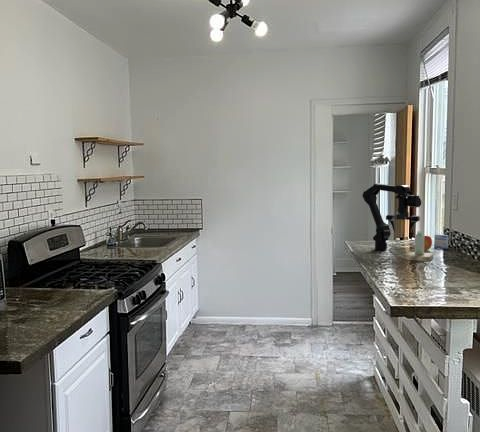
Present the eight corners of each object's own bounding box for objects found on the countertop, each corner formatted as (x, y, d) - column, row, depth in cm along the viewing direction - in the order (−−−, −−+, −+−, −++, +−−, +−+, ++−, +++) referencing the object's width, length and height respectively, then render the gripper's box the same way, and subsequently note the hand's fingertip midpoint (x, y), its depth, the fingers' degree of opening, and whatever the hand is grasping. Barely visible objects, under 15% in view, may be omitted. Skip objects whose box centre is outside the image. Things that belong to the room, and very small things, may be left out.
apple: (434, 252, 290) (434, 236, 289) (418, 252, 290) (419, 236, 289) (428, 249, 299) (428, 233, 298) (413, 249, 300) (413, 233, 299)
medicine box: (433, 248, 304) (434, 234, 304) (434, 247, 308) (435, 234, 307) (447, 249, 301) (447, 235, 300) (447, 248, 305) (448, 234, 304)
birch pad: (405, 259, 268) (405, 255, 268) (409, 255, 279) (409, 251, 279) (429, 261, 262) (430, 257, 261) (433, 257, 273) (433, 253, 273)
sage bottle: (418, 255, 267) (418, 232, 266) (412, 253, 272) (413, 231, 271) (426, 254, 268) (426, 231, 267) (420, 253, 273) (421, 230, 272)
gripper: (384, 206, 281) (383, 232, 282) (417, 207, 271) (416, 234, 273) (388, 205, 290) (387, 230, 292) (420, 206, 281) (419, 232, 283)
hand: (402, 232), depth 285 cm, fingers open, 9 cm apart
